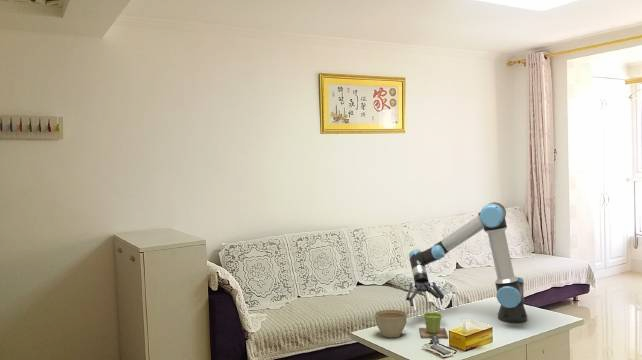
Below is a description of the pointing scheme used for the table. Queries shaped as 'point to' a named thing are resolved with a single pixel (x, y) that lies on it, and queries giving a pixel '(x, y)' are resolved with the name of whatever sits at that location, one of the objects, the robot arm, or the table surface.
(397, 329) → the planter bowl
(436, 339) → the chain ends
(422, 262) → the robot arm
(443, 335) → the pad
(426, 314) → the plant pot
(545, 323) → the table surface
